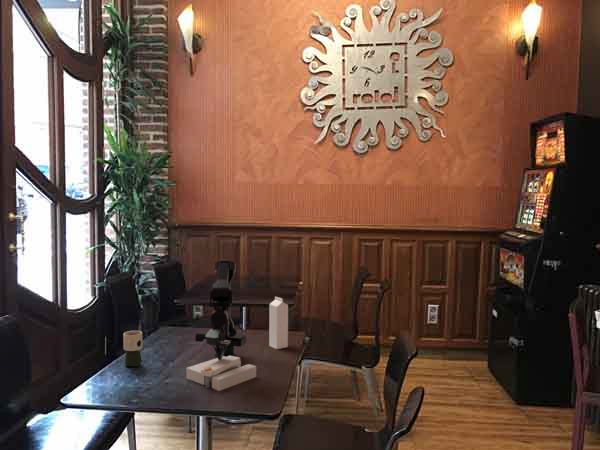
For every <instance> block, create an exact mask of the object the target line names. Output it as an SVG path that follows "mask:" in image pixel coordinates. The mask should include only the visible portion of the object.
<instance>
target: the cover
mask: <svg viewBox="0 0 600 450" xmlns="http://www.w3.org/2000/svg"><path fill="white" fill-rule="evenodd" d="M240 361H241V357H239V356H236V355H235V356H227V357H225V358H223V359H221V360H219V361H217V362H215V363H213V364H211V365H208V366H206V367H204V368H203V369H202V370H201V375H204V376H208V377H211V376H213V375H216V374H218V373H220V372H222V371H224V370H226V369H228V368H230V367H232V366H234V365H236V364H238V363H240Z"/></svg>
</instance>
